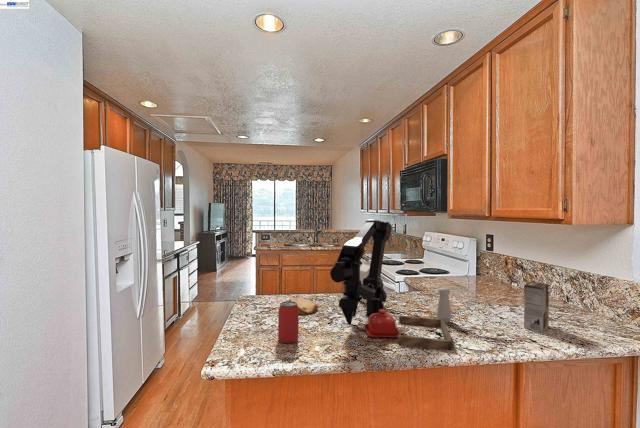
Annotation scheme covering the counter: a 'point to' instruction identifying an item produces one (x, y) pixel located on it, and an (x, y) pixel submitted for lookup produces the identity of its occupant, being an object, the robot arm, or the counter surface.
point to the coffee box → (536, 306)
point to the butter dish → (381, 325)
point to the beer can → (288, 322)
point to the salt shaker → (444, 305)
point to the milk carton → (364, 274)
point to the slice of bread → (305, 306)
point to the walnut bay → (425, 342)
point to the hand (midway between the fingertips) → (351, 320)
